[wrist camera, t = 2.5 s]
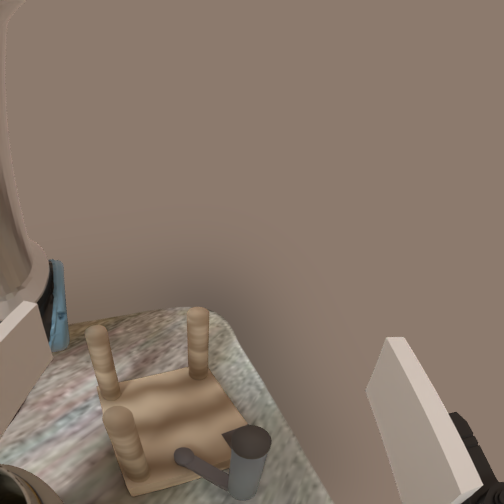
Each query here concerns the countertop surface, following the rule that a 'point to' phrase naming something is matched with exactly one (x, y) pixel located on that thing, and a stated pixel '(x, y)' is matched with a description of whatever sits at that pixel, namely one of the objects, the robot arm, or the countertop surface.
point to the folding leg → (234, 462)
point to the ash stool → (165, 412)
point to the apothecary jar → (24, 488)
